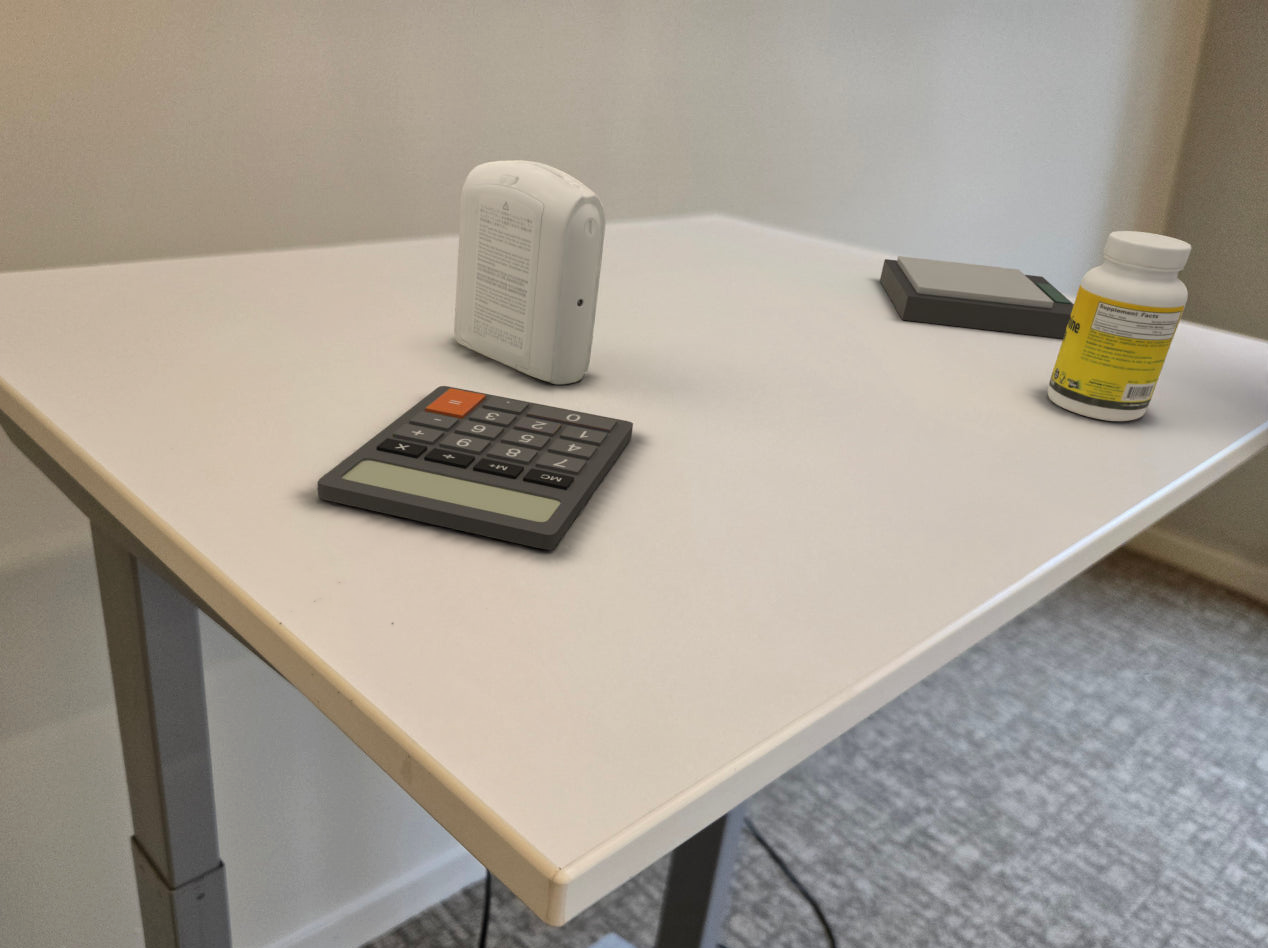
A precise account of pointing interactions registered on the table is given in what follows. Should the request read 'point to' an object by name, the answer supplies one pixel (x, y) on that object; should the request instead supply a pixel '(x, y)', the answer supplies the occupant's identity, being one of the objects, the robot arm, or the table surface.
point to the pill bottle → (1121, 327)
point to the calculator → (482, 466)
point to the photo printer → (529, 268)
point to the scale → (975, 297)
